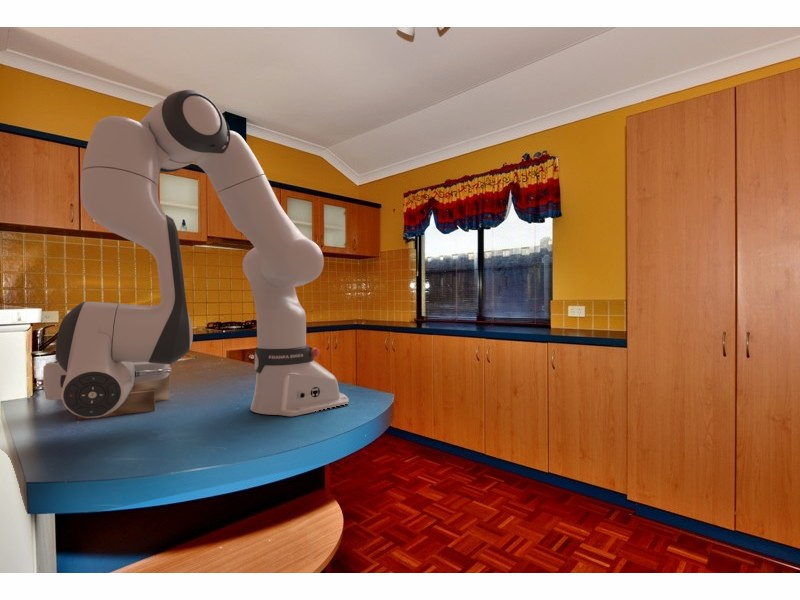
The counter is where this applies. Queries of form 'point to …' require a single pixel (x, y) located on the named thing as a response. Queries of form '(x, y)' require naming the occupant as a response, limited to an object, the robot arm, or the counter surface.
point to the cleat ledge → (134, 403)
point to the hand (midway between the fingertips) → (114, 365)
